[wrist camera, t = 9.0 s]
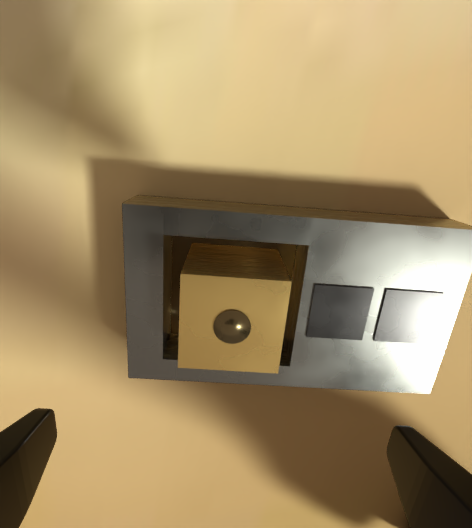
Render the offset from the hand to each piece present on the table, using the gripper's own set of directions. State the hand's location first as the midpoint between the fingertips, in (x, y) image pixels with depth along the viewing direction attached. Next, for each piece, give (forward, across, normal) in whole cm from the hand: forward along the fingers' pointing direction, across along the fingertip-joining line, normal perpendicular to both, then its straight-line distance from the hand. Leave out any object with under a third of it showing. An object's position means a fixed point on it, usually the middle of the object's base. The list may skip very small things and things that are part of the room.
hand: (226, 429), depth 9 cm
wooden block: (+10, 0, 0) cm, 10 cm away
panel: (+10, -3, 0) cm, 11 cm away
